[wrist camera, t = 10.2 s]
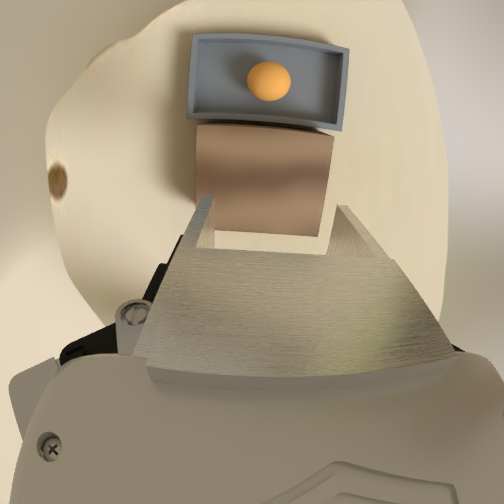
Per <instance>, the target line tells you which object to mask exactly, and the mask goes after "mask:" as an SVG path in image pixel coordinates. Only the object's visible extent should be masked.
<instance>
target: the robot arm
mask: <svg viewBox="0 0 504 504" xmlns="http://www.w3.org/2000/svg"><path fill="white" fill-rule="evenodd" d="M182 237H183V235H181V236H180V238H179V240H178V242H177V244H176V246H175V248H174V250H173V252H172V254H171V256H170V258H169V261H168V263H167V264H163V263H161V264H159V266H158V267H157V269H156V271H155V273H154V275H153V278H152V280H151V282H150V284H149V286H148V288H147V290H146V292H145V294H144V296H143V298H142V300H141V299H138V300H131V301H128V302H126V303H124V304H122V305H121V306H120V307H119V308H118V310H117V312H116V316H115V318H116V323H113V324H111V325H109V326H107V327H105V328H102V329H100V330H98V331H96V332H94V333H91V334H89V335H87V336H85V337H83V338H80V339H78V340H76V341H74V342H72V343H70V344H68V345H67V346H66V347H65V348H64V349H63V350H62V352H61V354H60V358H59V359H56V360H55V358H54V357H52V358H50V359H48V360H46V361H44V362H42V363H40V364H38V365H36V366H34V367H31V368H29V369H27V370H25V371H23V372H21V373H19V374H17V375H15V376H14V377H13V378H12V380H11V381H10V384H9V395H10V399H11V403H12V407H13V410H14V414H15V417H16V421H17V424H18V427H19V430H20V433H21V436H22V439H23V443H22V447H21V450H20V453H19V457H18V461H17V465H16V468H15V473H14V478H13V483H12V490H11V496H10V504H504V381H503V379H502V378H501V376H500V374H499V373H498V371H497V370H496V368H495V367H494V365H493V364H492V363H491V362H490V361H489V360H488V359H487V358H485V357H483V356H481V355H478V354H474V353H469V352H465V351H463V350H461V349H460V348H458V347H456V346H454V345H453V344H451V345H452V346H453V348H454V350H455V351H456V353H457V355H458V358H457V359H456V360H455V362H454V363H453V364H452V366H451V367H450V368H449V369H448V371H445V372H441V373H437V374H432V375H427V376H422V377H417V378H412V379H407V380H401V381H395V382H389V383H382V384H375V385H368V386H359V387H349V388H338V389H324V390H305V391H242V390H224V389H211V388H200V387H189V386H180V385H172V384H164V383H158V382H151V379H150V376H149V374H148V371H147V368H146V362H147V359H148V358H143V357H135V356H132V354H133V352H134V349H135V346H136V344H137V341H138V338H139V336H140V333H141V331H142V328H143V326H144V323H145V321H146V318H147V316H148V313H149V311H150V308H151V306H152V304H153V301H154V299H155V297H156V294H157V292H158V290H159V287H160V285H161V283H162V280H163V278H164V276H165V274H166V271H167V269H168V267H169V265H170V262H171V260H172V258H173V256H174V254H175V252H176V249H177V247H178V245H179V243H180V241H181V239H182Z"/></svg>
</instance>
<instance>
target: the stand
mask: <svg viewBox="0 0 504 504" xmlns="http://www.w3.org/2000/svg"><path fill="white" fill-rule="evenodd" d="M333 142H334V137H333V136H331V135H328V134H326V133H323V132H319V131H313V130H305V129H298V128H289V127H280V126H269V125H257V124H241V123H213V122H206V123H202V124H199V125H197V133H196V208H197V206H198V205H199V203H200V201H201V199H202V197H203V195H215V226H214V230H221V231H238V232H255V233H270V234H285V235H299V236H313V237H318V233H319V227H320V222H321V217H322V211H323V206H324V200H325V194H326V188H327V182H328V176H329V170H330V163H331V156H332V149H333Z"/></svg>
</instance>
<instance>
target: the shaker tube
mask: <svg viewBox="0 0 504 504" xmlns="http://www.w3.org/2000/svg"><path fill="white" fill-rule="evenodd" d="M214 226H215V195H203V197H202V199H201V201H200V203H199V205H198V206H197V208H196V210H195V212H194V214H193V216H192V218H191V220H190V222H189V224H188V227H187V229H186V231H185V233H184V235H183V237H182V239H181V241H180V243H179V245H178V247H177V249H176V252H175V254H174V256H173V258H172V260H171V262H170V265H169V267H168V269H167V271H166V274H165V276H164V278H163V280H162V283H161V285H160V287H159V290H158V292H157V294H156V297H155V299H154V301H153V304H152V306H151V308H150V311H149V313H148V316H147V318H146V321H145V323H144V326H143V328H142V331H141V333H140V336H139V338H138V341H137V344H136V346H135V349H134V352H133V354H132V356H135V357H143V358H148V359H147V362H146V368H147V371H148V374H149V376H150V379H151V382H158V383H164V384H172V385H180V386H189V387H200V388H211V389H224V390H242V391H305V390H324V389H338V388H349V387H359V386H368V385H375V384H382V383H389V382H395V381H401V380H407V379H412V378H417V377H422V376H427V375H432V374H437V373H441V372H445V371H448V369H449V368H450V367H451V366H452V364H453V363H454V362H455V360H456V359H457V358H458V355H457V353H456V351H455V350H454V348H453V346H452V345H451V343H450V341H449V339H448V338H447V336H446V335H445V333H444V331H443V330H442V328H441V326H440V325H439V323H438V322H437V320H436V319H435V317H434V315H433V314H432V312H431V311H430V309H429V308H428V306H427V305H426V303H425V302H424V300H423V299H422V297H421V296H420V295H419V293H418V292H417V290H416V289H415V287H414V286H413V285H412V283H411V282H410V280H409V279H408V278H407V276H406V275H405V274H404V272H403V271H402V270H401V268H400V267H399V266H398V264H397V263H396V262H395V260H393V259H390V258H389V257H388V255H387V254H386V253H385V252H384V250H383V249H382V248H381V246H380V245H379V244H378V243H377V241H376V240H375V239H374V238H373V236H372V235H371V234H370V233H369V231H368V230H367V229H366V228H365V226H364V225H363V224H362V223H361V222H360V220H359V219H358V218H357V217H356V216H355V215H354V213H353V212H352V211H351V210H350V209H349V208H348V206H343V205H337V207H336V212H335V217H334V222H333V227H332V232H331V236H330V241H329V245H328V250H327V254H326V255H312V254H296V253H279V252H263V251H246V250H230V249H214Z"/></svg>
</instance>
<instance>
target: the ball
mask: <svg viewBox="0 0 504 504" xmlns="http://www.w3.org/2000/svg"><path fill="white" fill-rule="evenodd" d="M290 84H291V79H290V75H289V73H288V72H287V70H286V69H285V68H284V67H283V66H281V65H280V64H278V63H275V62H262V63H259V64H257V65H255V66H254V67H253V68H252V69H251V70H250V72H249V74H248V77H247V85H248V88H249V90H250V92H251V93H252V94H253V95H254V96H255V97H257V98H258V99H261V100H264V101H274V100H278V99H280V98H282V97H283V96H284V95H285V94H286V93H287V92H288V90H289V88H290Z"/></svg>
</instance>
